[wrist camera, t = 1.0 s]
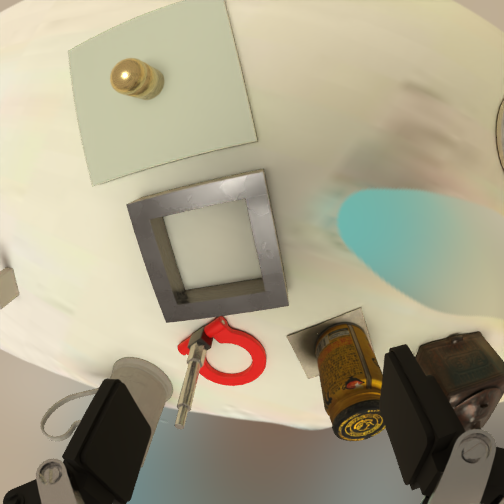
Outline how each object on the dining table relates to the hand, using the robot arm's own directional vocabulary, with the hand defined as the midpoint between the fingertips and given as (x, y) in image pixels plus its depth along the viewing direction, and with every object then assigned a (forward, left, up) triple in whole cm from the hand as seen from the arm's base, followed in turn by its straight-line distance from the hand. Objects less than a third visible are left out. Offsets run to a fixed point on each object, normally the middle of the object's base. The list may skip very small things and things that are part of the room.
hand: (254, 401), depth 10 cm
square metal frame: (+5, 0, -20) cm, 20 cm away
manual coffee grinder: (-18, +22, -20) cm, 35 cm away
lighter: (+35, -2, -20) cm, 40 cm away
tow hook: (+7, +13, -20) cm, 25 cm away
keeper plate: (+7, -16, -20) cm, 26 cm away
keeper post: (+7, -16, -18) cm, 25 cm away
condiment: (-5, +14, -20) cm, 25 cm away
